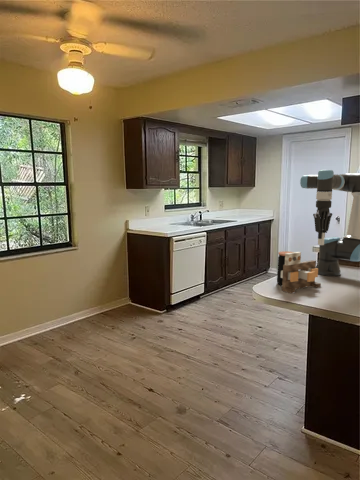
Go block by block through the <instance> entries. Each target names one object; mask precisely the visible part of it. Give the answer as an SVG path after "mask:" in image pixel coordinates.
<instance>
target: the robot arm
mask: <svg viewBox="0 0 360 480" xmlns="http://www.w3.org/2000/svg"><path fill="white" fill-rule="evenodd" d="M299 184H300V187H301V188H302V189H312V190H313V189H316V195H315V197H316V198H315V199H316V201H315V207H316V208H317V209H316V212H315V213H313V215H312V216H313V219H314V220H313V221H314V230H315V232H316V233H317V245H318V246H319V248H318V249H319V251H318V261H317V262H316V268H318V275H321V276H328V277H338V276H341V268H340V264H339V260H344V261H350V262H360V172H352V173H351V172H348V173H342V174H338V173H337V174H334V170H332V169H321V170H318V171H317V174H306V175H305V174H304V175H302V176H301V178H300V180H299ZM333 191H340V192H345V193H346V192H347V193H351V195H352V197H353V198H352V204H351V209H350V214H349V219H348V225H347V231H346V235H344V236H343V238H342V240H341V238H340V237H339V236H337V237H336V236H335V237H334V236H333V237H326V233H328V231H329V228H330V224H331V219H332V216H333V213H331V210H330V209H331V208H332V203H333V202H332V199H333Z"/></svg>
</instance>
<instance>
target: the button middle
mask: <svg viewBox="0 0 360 480" xmlns="http://www.w3.org/2000/svg"><path fill="white" fill-rule="evenodd" d="M298 272H299V273H298V278H301V279H305V280H307V282H311V281H315V282H316V277H315V272H314V271H313V272H309V271H305V270H298Z"/></svg>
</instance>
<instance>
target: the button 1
mask: <svg viewBox="0 0 360 480" xmlns="http://www.w3.org/2000/svg"><path fill="white" fill-rule="evenodd" d="M298 273H299V272H292V271H290V272H288V280H290V282H295V281H298ZM281 278H283V270H282V271H281Z"/></svg>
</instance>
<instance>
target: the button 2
mask: <svg viewBox="0 0 360 480" xmlns="http://www.w3.org/2000/svg"><path fill="white" fill-rule="evenodd" d="M308 271H309V272H313V271H314V272H315V278H318V277H319V274H318V268H314V269H313V268H308Z"/></svg>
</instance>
